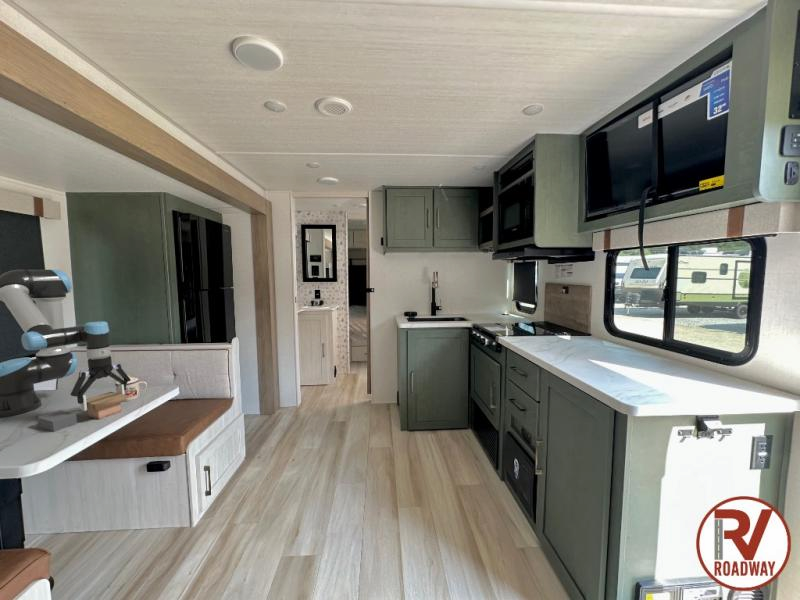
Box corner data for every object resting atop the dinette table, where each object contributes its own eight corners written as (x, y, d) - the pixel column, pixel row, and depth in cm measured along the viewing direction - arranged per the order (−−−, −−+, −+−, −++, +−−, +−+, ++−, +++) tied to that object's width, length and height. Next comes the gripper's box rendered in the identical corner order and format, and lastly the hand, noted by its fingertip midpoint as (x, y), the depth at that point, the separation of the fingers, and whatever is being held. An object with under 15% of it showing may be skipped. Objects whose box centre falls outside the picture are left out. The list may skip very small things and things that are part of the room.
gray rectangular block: (38, 426, 130) (37, 417, 129) (61, 419, 136) (60, 410, 136) (53, 431, 125) (52, 421, 125) (77, 423, 132) (76, 414, 131)
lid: (80, 406, 137) (80, 400, 137) (111, 396, 147) (111, 391, 147) (95, 410, 133) (95, 404, 133) (126, 400, 143) (125, 394, 143)
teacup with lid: (116, 403, 152) (114, 380, 151) (116, 398, 158) (114, 375, 157) (148, 397, 160) (146, 374, 159) (147, 392, 166) (145, 370, 165)
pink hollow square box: (88, 416, 138) (87, 405, 138) (110, 409, 146) (109, 398, 145) (99, 419, 135) (97, 408, 135) (121, 411, 143) (120, 401, 142)
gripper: (65, 365, 125) (71, 417, 127) (137, 351, 148) (141, 394, 150) (55, 364, 128) (61, 414, 130) (127, 349, 151) (131, 392, 153)
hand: (104, 403), depth 140 cm, fingers open, 13 cm apart
